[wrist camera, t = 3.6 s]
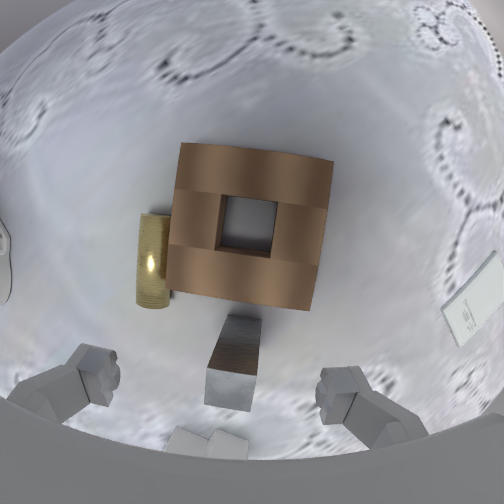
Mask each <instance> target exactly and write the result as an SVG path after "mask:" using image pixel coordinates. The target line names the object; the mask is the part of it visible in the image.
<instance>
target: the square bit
mask: <svg viewBox="0 0 504 504" xmlns="http://www.w3.org/2000/svg"><path fill="white" fill-rule="evenodd" d="M261 322H262V320H259V319H253V318H246V317H239V316H233V315H227V318H226V320H225V323H224V325H223V328H222V331H221V333H220V336H219V338H218V341H217V343H216V346H215V348H214V351H213V354H212V356H211V359H210V361H209V364H208V366H207V372H206V385H205V398H204V404H205V405H211V406H216V407H221V408H227V409H233V410H240V411H247V412H250V410H251V405H252V399H253V394H254V389H255V383H256V378H257V369H258V357H259V346H260V334H261Z"/></svg>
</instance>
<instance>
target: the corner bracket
mask: <svg viewBox="0 0 504 504" xmlns="http://www.w3.org/2000/svg"><path fill="white" fill-rule="evenodd" d="M248 446H249V441H247V440H244V439H242V438H239V437H236V436H234V435H231V434H229V433H226V432H224V431H221V430H219V429H216V431H215V432H214V433H213V435H212V436H211V437H210V439H209V440H207V439H205V438H202V437H200V436H198V435H195V434H193V433H191V432H189V431H186V430H184V429H182V428H180V427H178V426H177V427H176V429H175V430H174V432H173V434H172V435H171V437H170V439H169V441H168V442H167V444H166V446H165V447H164V449H163V451H162V452H168V453H175V454H182V455H189V456H198V457H208V458H220V459H238V460H247V455H248Z"/></svg>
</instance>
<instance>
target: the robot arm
mask: <svg viewBox="0 0 504 504" xmlns="http://www.w3.org/2000/svg"><path fill="white" fill-rule="evenodd" d="M9 252H10V236H9V234H8V233H7V231H6V229H5V227H4V226H3V224H2V222H1V220H0V305H1V304H4V303H5V302H6V301H7V299H8V297H9V294H10V289H11V269H10V261H9ZM116 360H117V355H116V352H115V351H114V350H110V349H106V348H101V347H97V346H92V345H88V344H84V343H82V344H80V345H79V346H78V348H77V349H76V350H75V352H74V353H73V354H72V356H71V357H70V358H69V360H68V361H67V362H66V364H65V365H59V366H57V367H55V368H52V369H50V370H48V371H45V372H43V373H40V374H38V375H36V376H33V377H31V378H28V379H26V380H24V381H21V382H19V383H18V384H17V386H16V387H15V388H14V390H13V391H12V392H11V393H10V395H9V396H8V397H7V399H5V398H3V397H1V396H0V504H504V416H503V415H501V414H498V413H495V412H488V413H486V414H483V415H481V416H479V417H476V418H474V419H472V420H469V421H467V422H464V423H462V424H459V425H457V426H454V427H451V428H449V429H446V430H443V431H440V432H437V433H434V434H431V435H429V434H428V432H427V430H426V429H425V427H424V425H423V423H422V422H421V420H420V418H419V417H418V416H417V415H416V414H414V413H412V412H410V411H409V410H407V409H405V408H404V407H402V406H400V405H399V404H397V403H395V402H394V401H392V400H390V399H389V398H387V397H385V396H384V395H382V394H380V393H379V392H377V391H373V390H372V389H371V387H370V385H369V383H368V381H367V379H366V377H365V375H364V373H363V372H362V370H361V368H360V367H359V366H348V367H332V368H323V369H322V371H321V374H320V377H321V381H320V382H319V383H317V387H316V394H315V397H316V403H317V405H318V406H319V407H320V408H321V410H320V417H321V420H322V424H323V425H330V424H343V425H344V426H345V427H346V428H347V429H348V430H349V431H350V432H351V433H353V434H354V435H355V436H356V437H357V438H358V439H359V440H360V441H361V442H362V443H364V444H365V445H366V446H367V447H368V448H369V449H370V450H366V451H360V452H355V453H348V454H341V455H334V456H325V457H315V458H303V459H285V460H238V459H220V458H208V457H198V456H189V455H182V454H175V453H168V452H162V451H157V450H151V449H146V448H141V447H137V446H132V445H128V444H124V443H120V442H116V441H112V440H109V439H105V438H101V437H98V436H95V435H91V434H88V433H85V432H82V431H79V430H76V429H73V428H71V427H68V426H65V425H62V424H61V423H63V422H64V421H66V420H67V419H69V418H70V417H72V416H73V415H74V414H76V413H77V412H79V411H80V410H82V409H83V408H84V407H86V406H87V405H89V404H90V403H93V404H98V405H102V406H106V407H109V405H110V403H111V400H112V398H113V392H112V391H113V390H115V389H117V387H118V385H119V382H120V368H119V366H118V365H117V364H116V363H115V362H116Z"/></svg>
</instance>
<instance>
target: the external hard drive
mask: <svg viewBox="0 0 504 504" xmlns="http://www.w3.org/2000/svg"><path fill="white" fill-rule="evenodd" d="M503 302H504V268H503V265H502V262H501V259H500V256H499V254H498V252H495V251H493V252H492V253H491V255H490V256H489V257H488V258H487V259H486V261H485V262H484V263H483V264H482V265H481V267H480V268H479V269H478V270H477V271H476V272H475V273H474V274H473V276H472V277H471V278H470V279H469V280H468V281H467V282H466V283H465V284H464V285H463V286H462V287H461V288H460V289H459V290H458V291H457V293H456V294H455V295H454V296H453V297H452V298H451V299H450V300H449V301H448V302H447V303H446V304H444V305H443V306H442V307H441V308H440V310H441V312H442V314H443V316H444V318H445V321H446V323H447V325H448V326H449V327H450V330H451V333H452V336H453V338H454V340H455V343H456V345H457V346H458V347H459V348H461V347H462V346H463V345H464V344H465V343H466V342H467V341H468V340H469V339H470V338H471V337H472V336H473V335H474V334H475V333H476V332H477V331H478V330H479V329H480V328H481V327H482V325H484V323H485V322H486V321H487V320H488V319H489V318H490V317H491V316H492V315H493V313H494V312H495V311H496V310H497V309H498V308H499V306H500V305H501V304H502V303H503Z"/></svg>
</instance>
